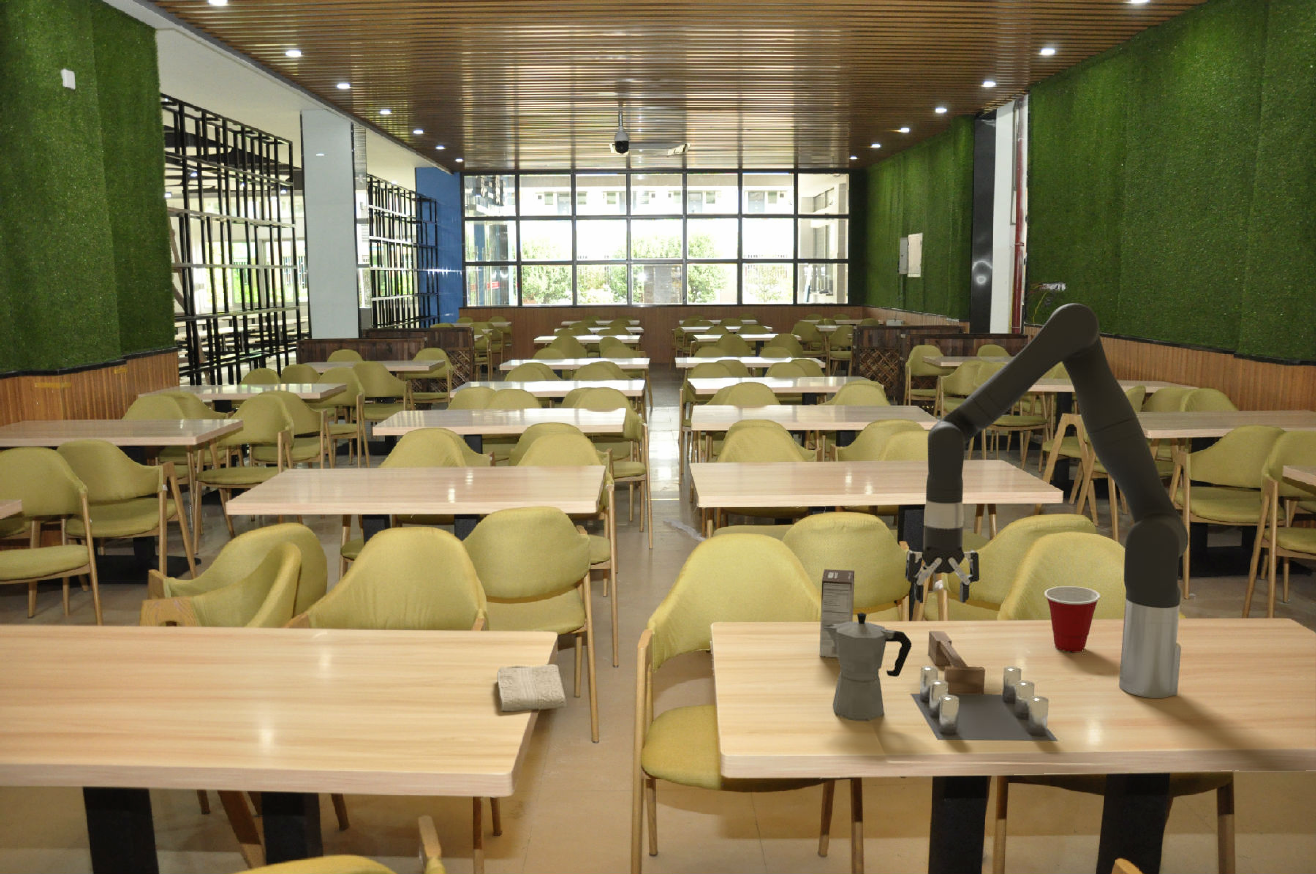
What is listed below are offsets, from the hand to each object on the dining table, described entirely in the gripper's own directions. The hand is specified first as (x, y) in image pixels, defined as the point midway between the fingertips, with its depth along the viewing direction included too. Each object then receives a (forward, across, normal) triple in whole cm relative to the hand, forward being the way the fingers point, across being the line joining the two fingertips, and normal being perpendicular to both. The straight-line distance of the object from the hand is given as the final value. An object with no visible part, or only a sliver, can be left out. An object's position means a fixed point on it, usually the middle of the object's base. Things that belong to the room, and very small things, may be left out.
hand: (941, 602), depth 218 cm
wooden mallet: (+12, 0, +8) cm, 15 cm away
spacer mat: (+12, 0, +29) cm, 32 cm away
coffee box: (+12, +20, -5) cm, 24 cm away
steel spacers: (+12, 0, +29) cm, 32 cm away
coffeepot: (+12, +20, +27) cm, 36 cm away
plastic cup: (+12, -29, -7) cm, 32 cm away
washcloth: (+12, +80, +19) cm, 83 cm away
